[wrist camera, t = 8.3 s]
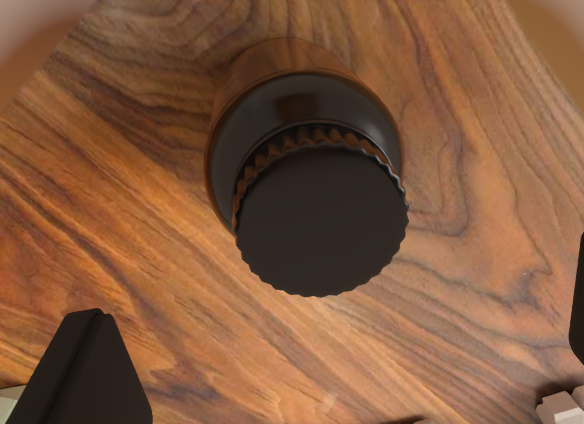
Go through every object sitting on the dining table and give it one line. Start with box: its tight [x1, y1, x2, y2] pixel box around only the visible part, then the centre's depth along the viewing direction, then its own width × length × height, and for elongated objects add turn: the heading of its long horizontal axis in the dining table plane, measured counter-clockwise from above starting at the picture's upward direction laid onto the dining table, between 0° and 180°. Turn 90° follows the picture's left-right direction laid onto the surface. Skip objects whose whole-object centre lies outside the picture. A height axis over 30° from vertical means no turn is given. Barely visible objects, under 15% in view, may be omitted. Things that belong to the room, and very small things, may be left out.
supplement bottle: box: [203, 38, 409, 298], centre depth 18 cm, size 7×7×12 cm
